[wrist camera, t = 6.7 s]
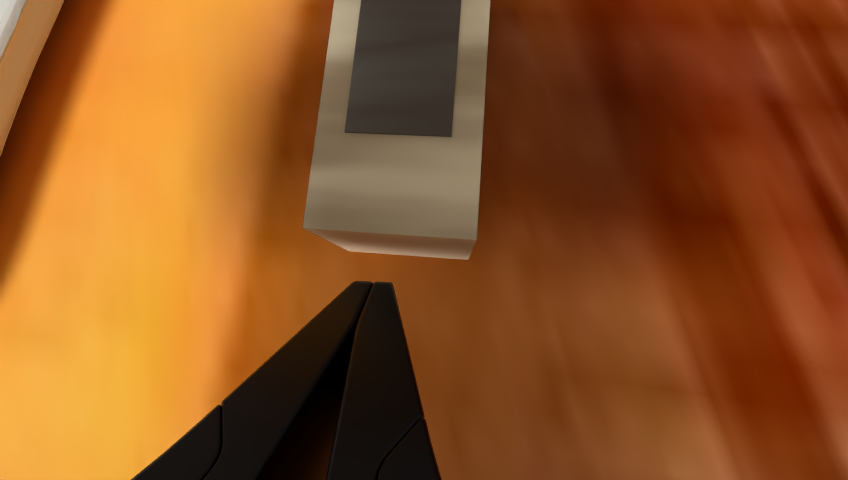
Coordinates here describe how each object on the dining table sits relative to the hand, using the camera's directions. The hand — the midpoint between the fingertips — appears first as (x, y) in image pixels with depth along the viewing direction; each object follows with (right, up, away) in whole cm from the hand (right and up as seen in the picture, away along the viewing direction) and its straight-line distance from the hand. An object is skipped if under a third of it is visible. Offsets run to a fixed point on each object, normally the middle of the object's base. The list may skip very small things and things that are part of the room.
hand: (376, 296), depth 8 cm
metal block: (0, +1, +5) cm, 5 cm away
